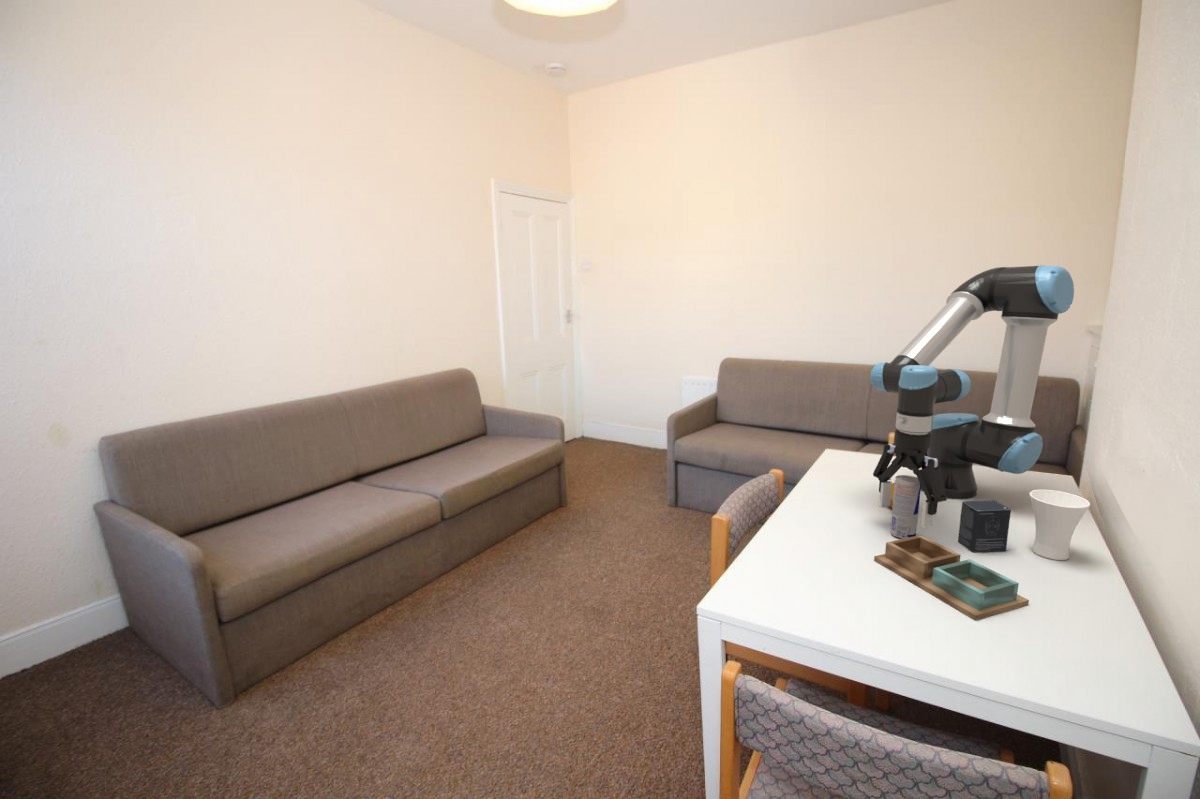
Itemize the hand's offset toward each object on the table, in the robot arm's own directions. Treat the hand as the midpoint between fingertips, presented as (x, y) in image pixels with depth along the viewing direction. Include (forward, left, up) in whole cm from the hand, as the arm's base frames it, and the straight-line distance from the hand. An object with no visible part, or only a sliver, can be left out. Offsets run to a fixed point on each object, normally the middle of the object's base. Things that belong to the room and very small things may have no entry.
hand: (904, 515), depth 134 cm
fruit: (-13, -13, -6) cm, 19 cm away
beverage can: (0, 0, -5) cm, 5 cm away
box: (-12, +11, -6) cm, 17 cm away
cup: (-23, +19, -5) cm, 30 cm away
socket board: (+9, +19, -5) cm, 22 cm away
